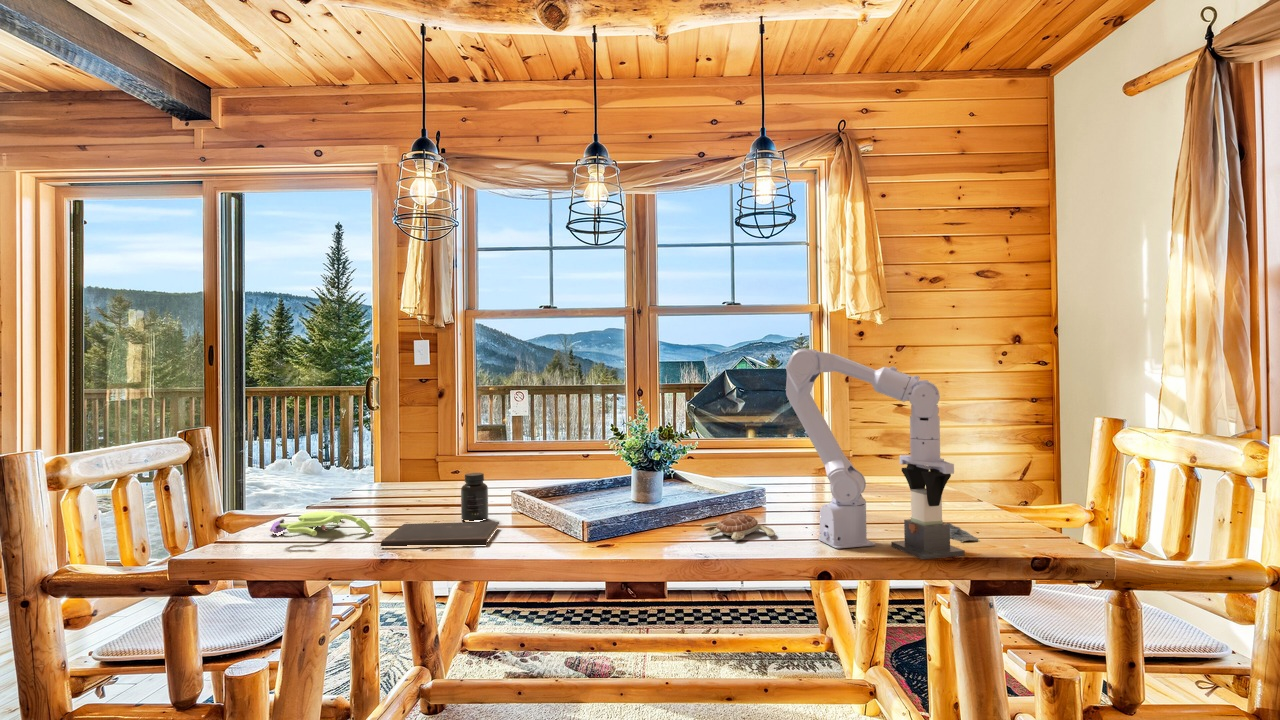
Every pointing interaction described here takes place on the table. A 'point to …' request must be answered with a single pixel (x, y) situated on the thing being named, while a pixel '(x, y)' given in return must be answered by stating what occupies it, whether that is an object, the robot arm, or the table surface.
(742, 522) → the decorative turtle
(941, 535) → the sleeve stand
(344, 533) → the table surface
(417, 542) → the hardcover book
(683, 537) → the table surface
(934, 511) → the post
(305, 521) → the figurine
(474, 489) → the supplement bottle
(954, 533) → the driftwood
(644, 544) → the table surface
